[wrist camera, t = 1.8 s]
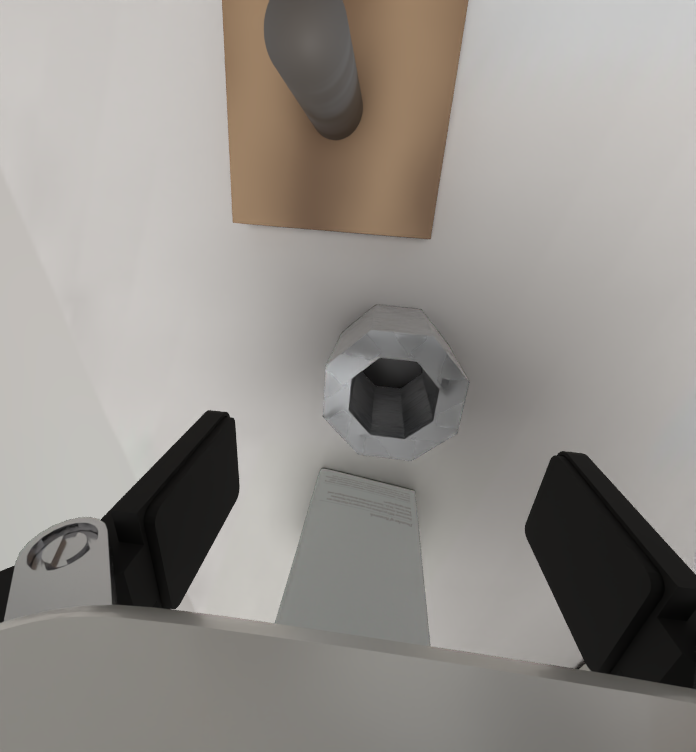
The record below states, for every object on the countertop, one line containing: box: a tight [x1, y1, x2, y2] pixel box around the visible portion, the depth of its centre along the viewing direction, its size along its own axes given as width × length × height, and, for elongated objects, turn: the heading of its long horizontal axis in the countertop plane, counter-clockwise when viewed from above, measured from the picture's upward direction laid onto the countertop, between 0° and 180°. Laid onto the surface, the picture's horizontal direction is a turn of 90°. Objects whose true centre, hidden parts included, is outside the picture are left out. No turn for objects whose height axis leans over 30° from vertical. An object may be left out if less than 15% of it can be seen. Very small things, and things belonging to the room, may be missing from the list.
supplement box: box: [275, 469, 430, 646], centre depth 20 cm, size 7×7×13 cm
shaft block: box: [222, 0, 468, 239], centre depth 13 cm, size 10×10×8 cm
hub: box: [323, 305, 470, 461], centre depth 18 cm, size 6×6×6 cm
